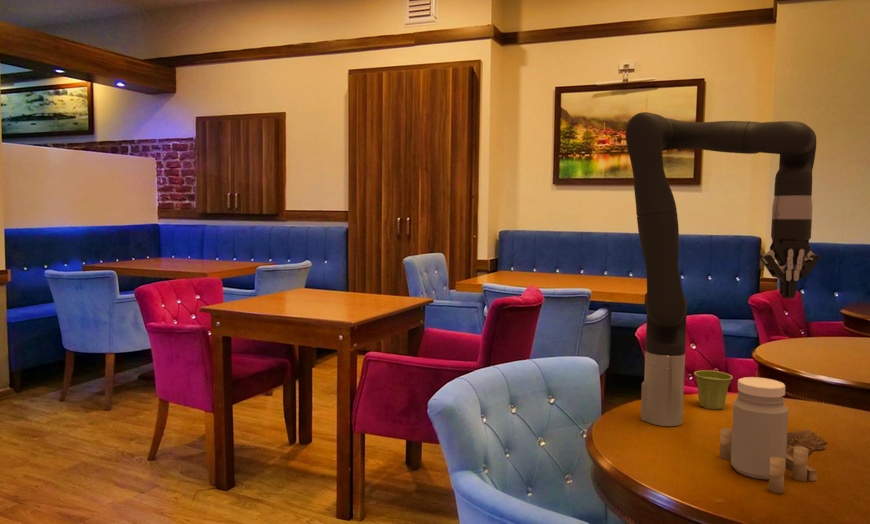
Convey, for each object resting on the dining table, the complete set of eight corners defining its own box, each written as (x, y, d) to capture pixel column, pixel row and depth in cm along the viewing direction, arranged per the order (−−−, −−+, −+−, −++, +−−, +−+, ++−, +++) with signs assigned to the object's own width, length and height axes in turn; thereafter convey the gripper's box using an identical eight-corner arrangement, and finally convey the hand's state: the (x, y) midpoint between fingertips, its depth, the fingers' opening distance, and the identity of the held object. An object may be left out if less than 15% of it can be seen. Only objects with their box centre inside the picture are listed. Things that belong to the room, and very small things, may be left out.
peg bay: (774, 493, 116) (775, 461, 116) (717, 456, 134) (718, 428, 134) (833, 490, 117) (835, 459, 117) (769, 453, 136) (770, 426, 135)
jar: (760, 484, 120) (765, 391, 119) (719, 466, 129) (722, 378, 128) (796, 476, 124) (801, 385, 122) (754, 459, 133) (757, 374, 131)
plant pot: (731, 404, 172) (732, 372, 171) (731, 413, 163) (732, 380, 163) (693, 399, 176) (695, 368, 175) (692, 409, 167) (693, 376, 167)
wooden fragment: (800, 467, 129) (800, 462, 129) (744, 452, 137) (744, 447, 137) (841, 439, 146) (841, 434, 146) (789, 427, 154) (789, 423, 154)
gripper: (774, 217, 132) (770, 300, 133) (832, 217, 133) (828, 300, 134) (752, 217, 139) (748, 296, 140) (807, 217, 141) (803, 295, 142)
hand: (787, 297), depth 137 cm, fingers closed
